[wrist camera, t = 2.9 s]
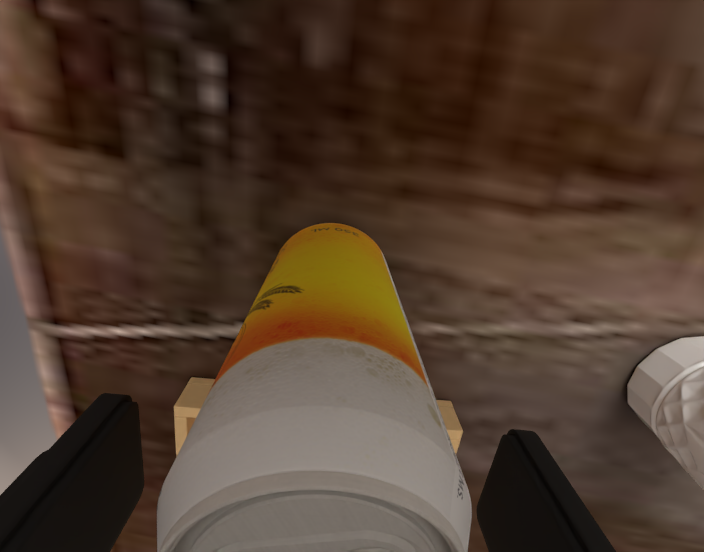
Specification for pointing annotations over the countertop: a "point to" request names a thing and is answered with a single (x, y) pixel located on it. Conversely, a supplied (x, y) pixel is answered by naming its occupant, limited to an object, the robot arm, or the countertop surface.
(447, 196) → the countertop surface
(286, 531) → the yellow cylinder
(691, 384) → the white cup
